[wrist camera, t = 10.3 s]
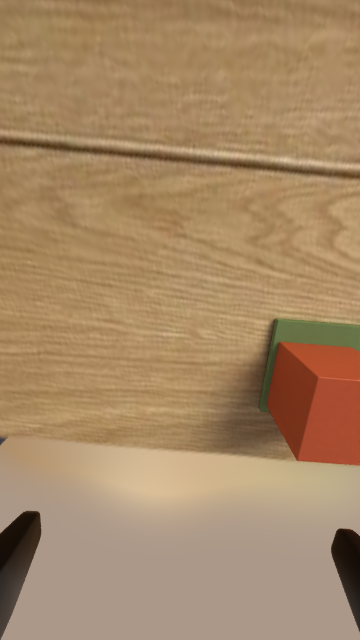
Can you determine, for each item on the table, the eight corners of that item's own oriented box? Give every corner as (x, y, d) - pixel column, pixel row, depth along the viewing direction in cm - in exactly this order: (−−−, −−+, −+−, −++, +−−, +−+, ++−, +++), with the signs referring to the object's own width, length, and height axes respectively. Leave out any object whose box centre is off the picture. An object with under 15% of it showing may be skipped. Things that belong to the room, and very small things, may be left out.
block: (351, 347, 17) (419, 384, 12) (333, 410, 18) (388, 467, 13) (278, 341, 17) (318, 377, 12) (266, 405, 18) (296, 461, 13)
